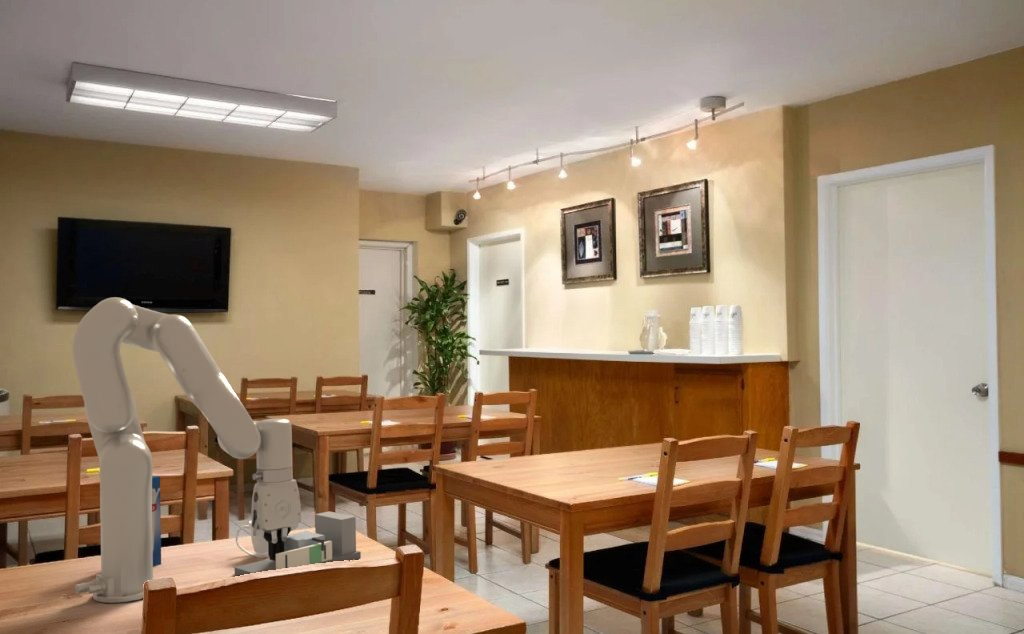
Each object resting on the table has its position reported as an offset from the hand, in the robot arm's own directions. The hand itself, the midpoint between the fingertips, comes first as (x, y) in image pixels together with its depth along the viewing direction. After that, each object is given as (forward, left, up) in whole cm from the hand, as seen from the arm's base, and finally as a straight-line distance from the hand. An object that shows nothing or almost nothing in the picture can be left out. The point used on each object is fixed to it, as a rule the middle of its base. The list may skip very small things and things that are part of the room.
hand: (276, 559), depth 184 cm
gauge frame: (+6, 0, -3) cm, 7 cm away
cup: (+5, +16, -3) cm, 17 cm away
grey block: (+6, -1, -1) cm, 7 cm away
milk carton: (-18, +30, -3) cm, 35 cm away
